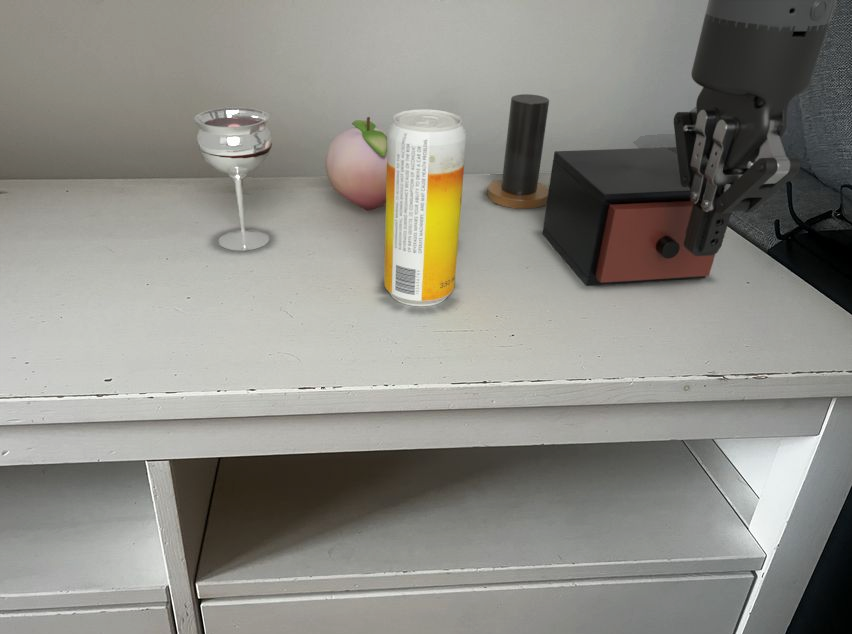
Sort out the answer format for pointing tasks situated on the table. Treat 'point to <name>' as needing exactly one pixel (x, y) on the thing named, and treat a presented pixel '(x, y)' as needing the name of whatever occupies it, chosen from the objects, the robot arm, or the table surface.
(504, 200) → the disc
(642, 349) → the table surface
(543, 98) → the dark grey cylinder
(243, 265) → the table surface
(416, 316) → the table surface
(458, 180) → the beer can
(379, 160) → the decorative fruit
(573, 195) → the drawer cabinet
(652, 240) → the cabinet drawer
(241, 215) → the wineglass
